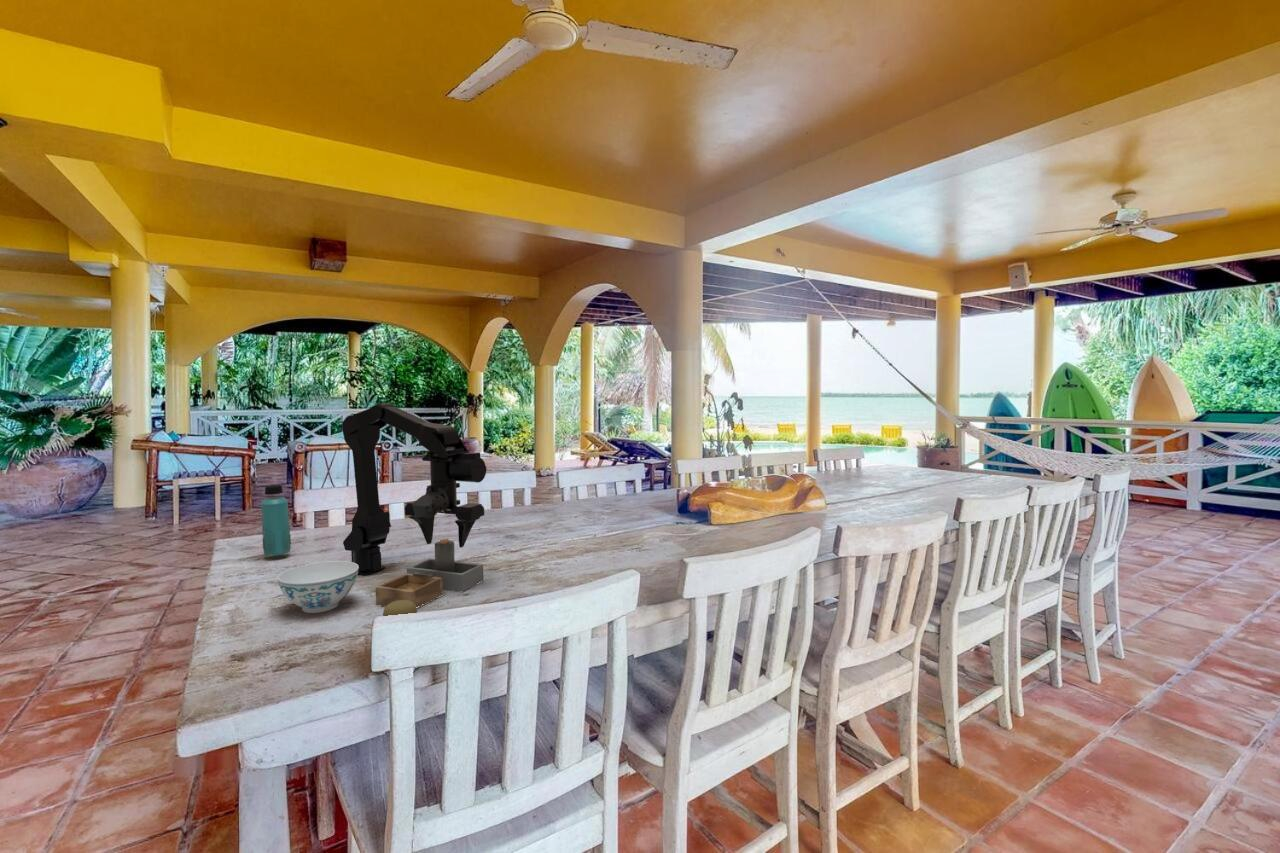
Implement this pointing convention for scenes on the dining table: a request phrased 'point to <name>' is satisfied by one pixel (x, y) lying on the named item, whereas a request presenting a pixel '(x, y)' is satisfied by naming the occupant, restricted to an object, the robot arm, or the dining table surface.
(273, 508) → the beverage bottle
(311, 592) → the chinaware
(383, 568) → the robot arm
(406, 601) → the cork
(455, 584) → the trough
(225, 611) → the dining table surface
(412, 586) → the plate
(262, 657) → the dining table surface
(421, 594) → the frame
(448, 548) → the battery cell
